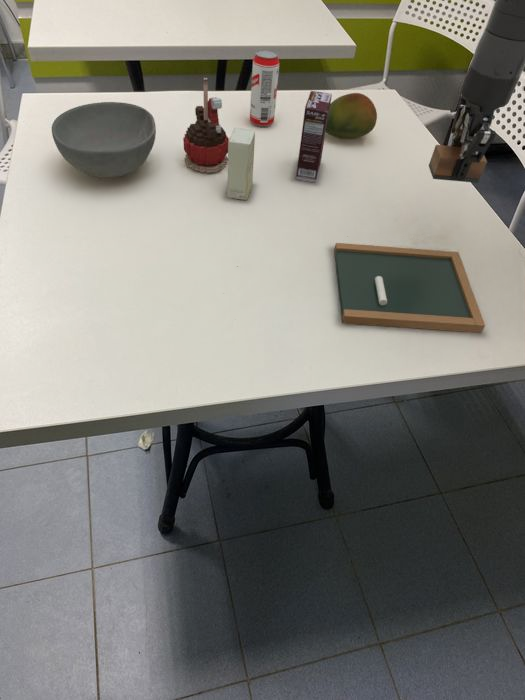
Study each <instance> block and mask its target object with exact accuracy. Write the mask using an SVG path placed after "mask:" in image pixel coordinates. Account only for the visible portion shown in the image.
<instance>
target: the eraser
mask: <svg viewBox="0 0 525 700" xmlns="http://www.w3.org/2000/svg"><path fill="white" fill-rule="evenodd" d="M461 149H462V147H456V146H451V145H443V144H435V146H434V149H433V152H432V154H431V158H430V160H429V163H428V169H429V172H430V175H431V177H432V179H433V180H441V181H451V182H464V183H474V184H478V183H479V181H480V179H481V177H482V175H483V173H484V170H485V168H486V166H487V164H488V160H487V158H486V156H485V154H484V155H483V157H482V159H481V160H480V162H479V163H477V162H472V163H471V166H470V168H469V170H468V173H467V175H466V177H465V179H464V180H454V179H453V178H452V173H453V171H454V168H455V166H456V163H457V161H458V158H459V155H460V152H461ZM467 149H468V147H467Z"/></svg>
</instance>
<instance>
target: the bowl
mask: <svg viewBox="0 0 525 700" xmlns="http://www.w3.org/2000/svg"><path fill="white" fill-rule="evenodd" d="M156 133H157V127H156V121H155V118H154V116H153V114H152V113H151V112H149V111H148V110H147V109H146V108H144V107H142V106H139V105H137V104H133V103H128V102H119V101H101V102H91V103H87V104H82V105H78V106H76V107H72V108H70V109H67V110H65V111H64V112H62V113H60V114H58V116H57V117H56V118H55V119H54V121H53V122H52V124H51V134H52V139H53V141H54V144H55V146H56V149H57V150H58V152H59V154H60V155H61V156H62V158H63V159H64V160H65V161H66V162H67V163H68V164H69V165H70V166H72V167H73V168H75V169H76V170H78V171H80V172H81V173H84V174H86V175H90V176H93V177H99V178H117V177H122V176H125V175H128V174H130V173H132V172H134V171H136V170H138V169H139V168H140V167H141V166H142V165H144V163H145V162H146V161H147V159H148V157H149V155H150V153H151V151H152V149H153V148H154V144H155V141H156V136H157V135H156Z"/></svg>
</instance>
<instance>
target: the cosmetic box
mask: <svg viewBox="0 0 525 700" xmlns="http://www.w3.org/2000/svg"><path fill="white" fill-rule="evenodd" d="M233 128H234V129H233V130H232V132H231V133H230V136H229V141H228V153H227V158H228V161H227V193H226V194H227V198H229V199H236V200H243V201H247V200H248V198H249V195H250V193H251V191H252V188H253V182H254V181H253V180H254V179H253V177H254V161H255V145H256V144H255V143H256V142H255V141H256V131H255V130H252V129H246V128H239V127H233Z"/></svg>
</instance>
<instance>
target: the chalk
mask: <svg viewBox="0 0 525 700" xmlns="http://www.w3.org/2000/svg"><path fill="white" fill-rule="evenodd" d="M375 285H376V290H377V295H378V301H379V304H380V305H382V306H383V305H386V304H387V297H386V293H385V288H384V283H383V278H382V277H381V276H377V277H376V278H375Z"/></svg>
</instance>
